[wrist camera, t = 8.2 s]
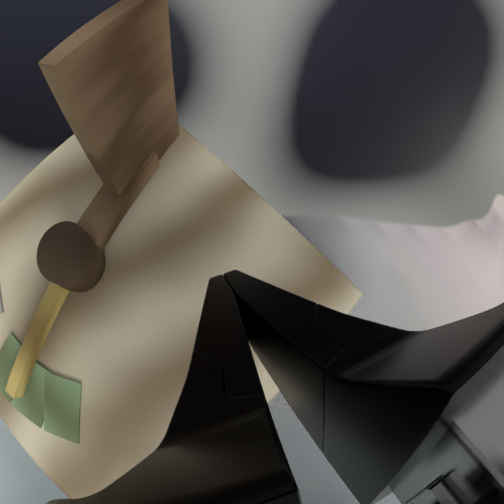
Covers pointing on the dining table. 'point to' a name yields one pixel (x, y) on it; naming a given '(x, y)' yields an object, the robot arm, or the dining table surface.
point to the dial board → (134, 304)
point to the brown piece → (103, 145)
